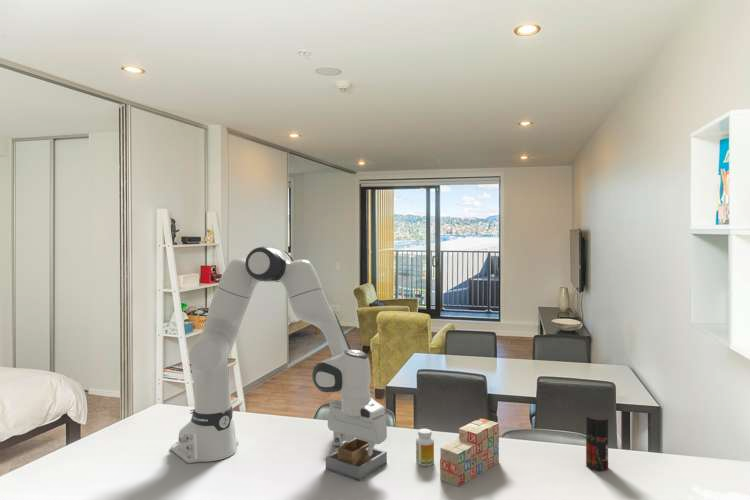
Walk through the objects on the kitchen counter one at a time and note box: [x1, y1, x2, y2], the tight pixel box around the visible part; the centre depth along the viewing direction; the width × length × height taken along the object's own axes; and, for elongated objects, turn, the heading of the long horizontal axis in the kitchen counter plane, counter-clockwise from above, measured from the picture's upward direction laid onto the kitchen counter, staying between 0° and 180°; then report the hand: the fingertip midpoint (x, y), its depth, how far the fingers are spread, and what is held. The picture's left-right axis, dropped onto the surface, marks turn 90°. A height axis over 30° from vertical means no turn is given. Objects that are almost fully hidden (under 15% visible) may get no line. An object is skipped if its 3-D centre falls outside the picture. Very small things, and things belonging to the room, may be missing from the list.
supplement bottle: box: [415, 428, 435, 467], centre depth 149 cm, size 5×5×10 cm
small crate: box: [336, 438, 372, 467], centre depth 147 cm, size 9×6×6 cm, turn 144°
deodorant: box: [585, 412, 609, 472], centre depth 146 cm, size 6×6×15 cm
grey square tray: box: [324, 448, 388, 482], centre depth 147 cm, size 13×14×4 cm
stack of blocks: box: [439, 418, 500, 487], centre depth 144 cm, size 21×6×12 cm, turn 135°
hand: (356, 450), depth 147 cm, fingers open, 8 cm apart
